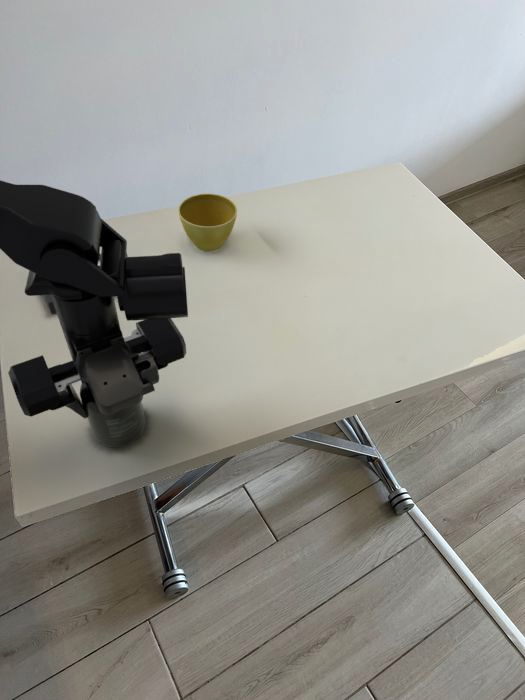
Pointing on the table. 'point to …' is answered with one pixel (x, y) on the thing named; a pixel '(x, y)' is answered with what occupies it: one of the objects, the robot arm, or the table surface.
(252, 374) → the table surface
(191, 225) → the flower pot
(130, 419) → the supplement bottle
